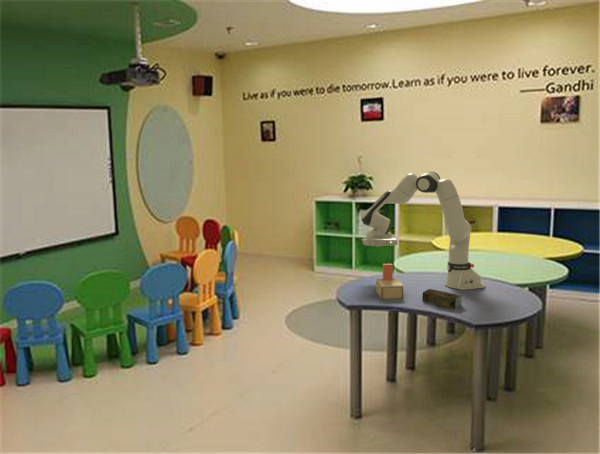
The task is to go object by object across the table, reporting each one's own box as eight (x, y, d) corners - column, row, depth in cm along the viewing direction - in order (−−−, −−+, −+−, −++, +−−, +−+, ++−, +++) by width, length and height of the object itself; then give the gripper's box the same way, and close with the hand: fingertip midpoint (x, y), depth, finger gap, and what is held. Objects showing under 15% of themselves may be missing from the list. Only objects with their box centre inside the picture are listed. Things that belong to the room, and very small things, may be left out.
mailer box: (376, 292, 318) (376, 280, 316) (397, 292, 318) (397, 280, 317) (381, 300, 304) (381, 288, 303) (403, 299, 305) (403, 287, 303)
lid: (376, 280, 316) (376, 263, 314) (397, 279, 317) (397, 262, 315) (381, 287, 302) (381, 270, 301) (403, 286, 303) (403, 269, 301)
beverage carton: (455, 310, 287) (455, 297, 286) (421, 303, 299) (421, 291, 298) (461, 305, 293) (462, 293, 292) (428, 299, 305) (428, 287, 304)
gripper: (360, 234, 336) (365, 239, 323) (394, 234, 338) (400, 239, 324) (360, 244, 337) (364, 250, 324) (393, 244, 339) (399, 249, 326)
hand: (382, 244), depth 324 cm, fingers open, 8 cm apart
